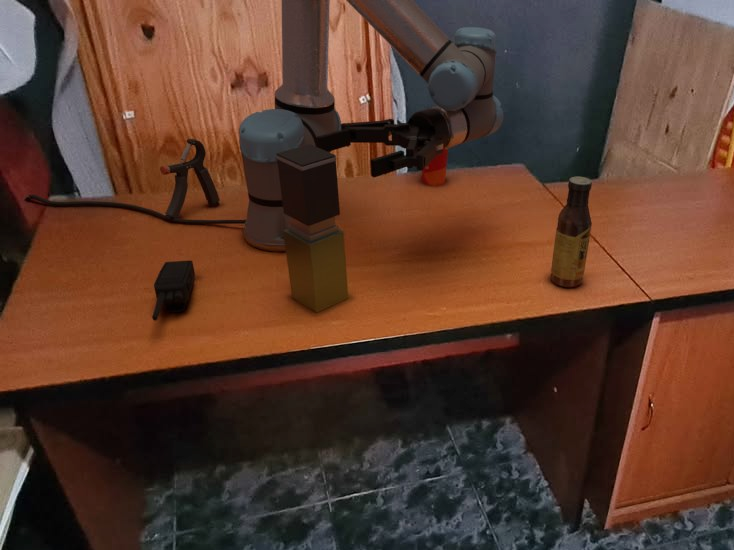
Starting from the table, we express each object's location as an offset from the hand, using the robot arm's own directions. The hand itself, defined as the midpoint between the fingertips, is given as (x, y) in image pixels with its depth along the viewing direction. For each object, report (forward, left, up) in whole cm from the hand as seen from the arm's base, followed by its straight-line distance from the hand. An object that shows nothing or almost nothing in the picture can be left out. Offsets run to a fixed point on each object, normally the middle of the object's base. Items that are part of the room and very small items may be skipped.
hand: (344, 156), depth 112 cm
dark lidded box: (-1, -7, -8) cm, 11 cm away
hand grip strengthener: (-45, +3, -24) cm, 51 cm away
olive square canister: (-1, -7, -24) cm, 25 cm away
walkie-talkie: (-19, -24, -24) cm, 38 cm away
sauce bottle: (+32, +25, -24) cm, 47 cm away
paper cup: (-15, +49, -24) cm, 56 cm away
